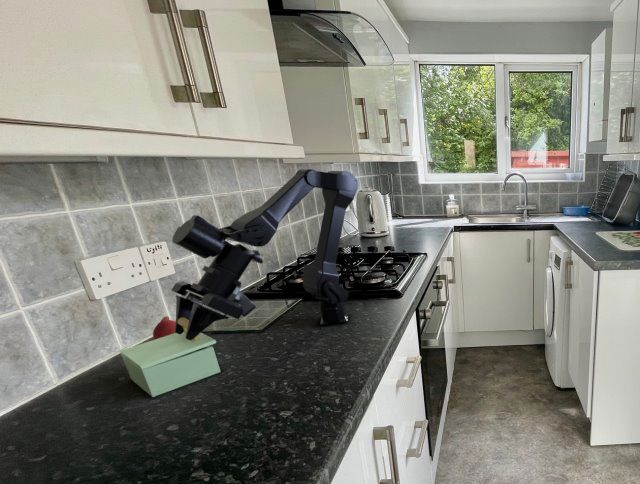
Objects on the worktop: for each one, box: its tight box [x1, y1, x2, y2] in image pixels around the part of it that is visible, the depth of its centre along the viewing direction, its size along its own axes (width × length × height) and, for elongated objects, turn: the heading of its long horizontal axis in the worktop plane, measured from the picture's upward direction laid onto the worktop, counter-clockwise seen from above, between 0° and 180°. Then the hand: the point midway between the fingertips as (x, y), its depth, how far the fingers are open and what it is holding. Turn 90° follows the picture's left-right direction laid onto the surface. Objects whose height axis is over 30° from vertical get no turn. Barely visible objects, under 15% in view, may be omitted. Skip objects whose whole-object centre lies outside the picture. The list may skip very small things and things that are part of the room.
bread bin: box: [120, 345, 221, 398], centre depth 82 cm, size 11×11×6 cm
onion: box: [152, 315, 176, 340], centre depth 93 cm, size 6×6×8 cm
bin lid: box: [119, 318, 217, 370], centre depth 80 cm, size 12×11×4 cm
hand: (182, 336), depth 82 cm, fingers closed on bin lid, 5 cm apart
